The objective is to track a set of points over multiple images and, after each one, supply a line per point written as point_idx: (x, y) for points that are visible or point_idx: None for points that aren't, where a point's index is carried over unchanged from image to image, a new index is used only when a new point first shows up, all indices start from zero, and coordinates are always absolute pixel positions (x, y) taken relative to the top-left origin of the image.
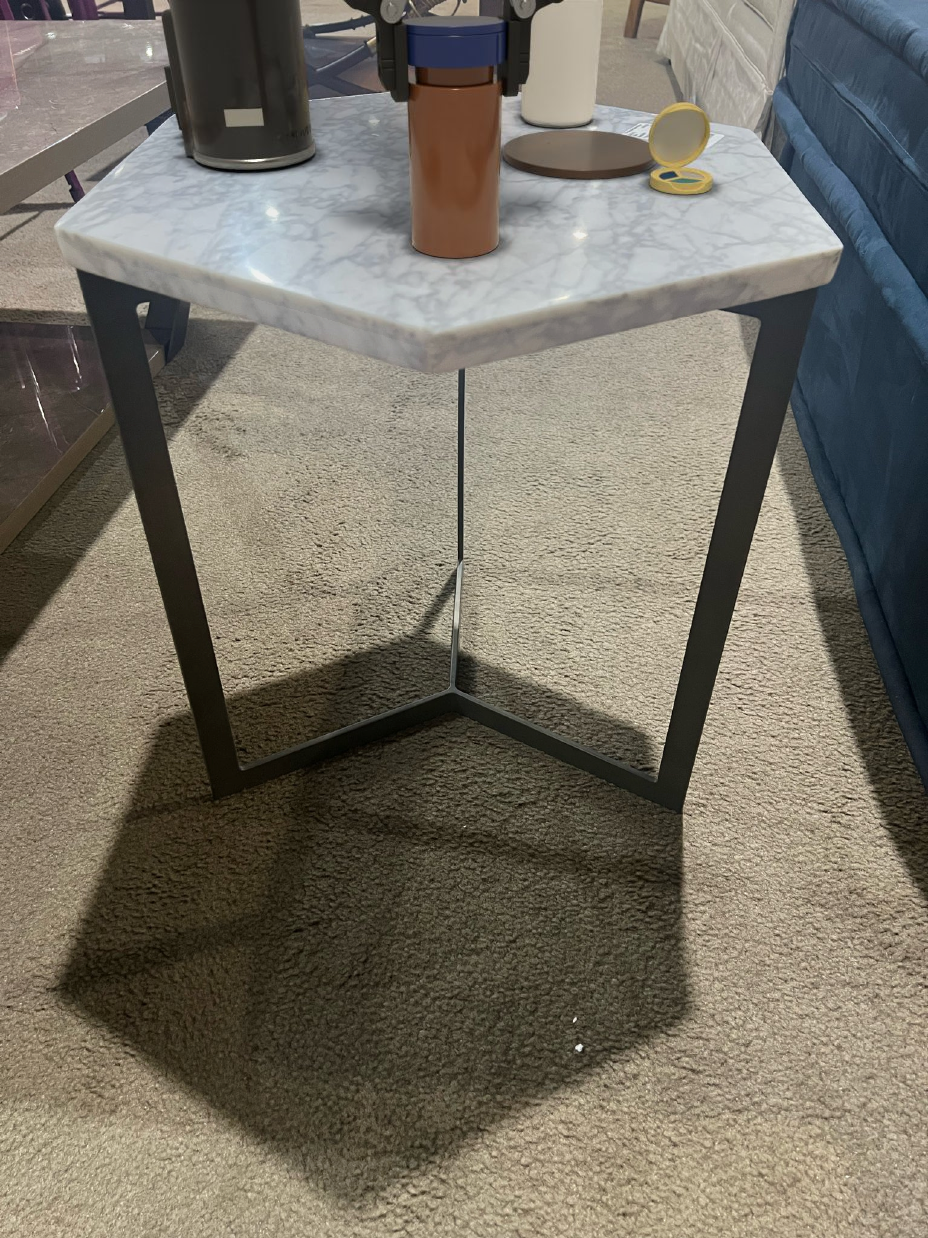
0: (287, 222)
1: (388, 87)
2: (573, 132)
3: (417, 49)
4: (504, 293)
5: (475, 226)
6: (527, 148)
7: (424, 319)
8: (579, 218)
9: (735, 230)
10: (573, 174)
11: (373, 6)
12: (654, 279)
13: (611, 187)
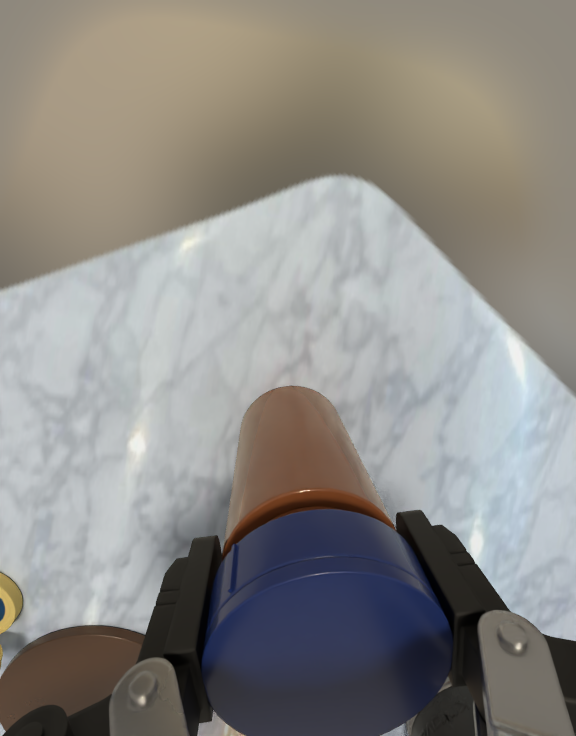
0: (465, 514)
1: (439, 529)
2: None
3: (414, 560)
4: (257, 269)
5: (275, 400)
6: None
7: (361, 202)
8: (129, 499)
9: None
10: (116, 631)
11: (556, 654)
12: (63, 288)
13: (74, 597)
